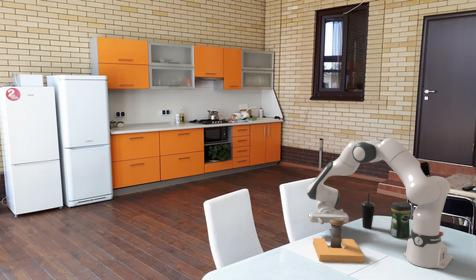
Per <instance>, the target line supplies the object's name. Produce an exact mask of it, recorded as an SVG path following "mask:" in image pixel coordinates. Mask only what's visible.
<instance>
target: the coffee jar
mask: <svg viewBox="0 0 476 280" xmlns="http://www.w3.org/2000/svg"><path fill="white" fill-rule="evenodd" d="M411 207H412V205H411V202H410V203H409V202H407V201H399V202H398V201H397V202H392V203H391V208H390V209H391V213H392V214H391V215H392V216H391V222H390V228H389V229H390V230H389V234H390V236H392V237H394V238H397V239H400V238H401V239H403V238H408V237H411V230H410V229H411V228H410V215H411V212H412V208H411Z"/></svg>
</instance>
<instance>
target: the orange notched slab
mask: <svg viewBox="0 0 476 280" xmlns="http://www.w3.org/2000/svg"><path fill="white" fill-rule="evenodd" d="M312 244H313V247H314V250H315V253H316V256H317V258H318V261H319V262H339V263H341V262H342V263H343V262H344V263H345V262H346V263H348V262H349V263H350V262H351V263H364V262H365V255H364V254H363V252H362V250H361V249H360V247H359V246H358V244H357V243H356V241H355V239H353V238H342V239H341V246H342V247H343V248H329V245H328V243H327V241H326V239H325V238H321V237H319V238H318V237H312Z"/></svg>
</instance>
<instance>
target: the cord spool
mask: <svg viewBox="0 0 476 280" xmlns="http://www.w3.org/2000/svg"><path fill="white" fill-rule="evenodd" d="M329 224H330V225H331V227H330V229H331V230H330V245H328V248H344V247H343V246H342V239H343V238H342V237H343V236H342V234H343V225H344V224H345V223H344V220H342V219H339V218H332V219H330V223H329Z"/></svg>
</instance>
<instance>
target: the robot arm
mask: <svg viewBox="0 0 476 280" xmlns="http://www.w3.org/2000/svg"><path fill="white" fill-rule="evenodd" d="M380 161H385V163H386V164H387V165H388V167H390V168H391V170H393V172H394V173H395V174H396V175H397V176H398V177H399V179H400V180H401V182H402V183H403V186H404V187H405V196H406V198H407V199H408V201H409V202H410V203H412V204H414V205H417V206H416V208H415V210H414V212H413V214H412V215H413V216H412V228H411V230H410V238H408V240H407V245H406V251H404V252H403V256H404V257H405V258H406V260H407V262H409V263H410V264H413V265H415V266H416V267H417V266H418V267H422V268H427V269H433V268H434V269H443V270H445V269H446V268H447V267H448V266H449V264H450V262H451V261H452V260H453V256H452V255H450V254H449V253H448V245H446V244H445V243H444V242H443V241H442V237H443V236H444V232H443V231H440V229H441V218H442V214H443V210H444V206H445V204H446V199H447V198H448V195H449V194H450V191H451V184H450V182H449V181H448V179H446V178H445V177H442V176H437V175H431V176H427V175H425V173H424V172H423V170H422V167H421V163H420V161H419V160H418V159H417V158H416V157H415V156H414V155H413V154H412V153H411V152H410V151H409V150H408V149H407V148H406V147H405V146H404V145H402V143H400V142H399V141H398V140H396V139H395V138H392V137H387V138H385V139H375V140H374V139H372V140H371V139H370V140H366V141H361V142H359V141H355V140H354V141H350V142H348V144H347V145H346V146H345V147H344V149H343V150H342V151H341V153H340V155H339V157H337V158H336V159H335V160H333V161H330V162H328V163H327V164H326V165H325V166H324V168H323V169H322V170H321V171H320V172H319V174H318V175H317V176H316V177H315V178H314V180H312V181H311V183H310V184H309V185H308V186H307V190H306V194H307V196H308V198H309V199H310V200H314V201H317V202H316V203H315V211H311V212H310V213H308V215H307V216H308V217H309V221H310V223H319V224H320V225H324V224H330V219H332V218H339V219H342V220H344V224H348V223H349V220H350V217H349V215H348V213H346V212H344V210H343V208H338V206H339V203H340V201H341V194H340V191H339V190H338V189H336V188H334V187H331V186H328V185H325V184H324V183H325V181H326V180H328V178H330V177H333V176H342V177H343V176H344V177H345V176H350V175H353V174H354V173H355V172H356V171H357V169H358V168H359V167H360V165H361V164H368V163H369V164H370V163H376V162H380Z"/></svg>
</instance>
